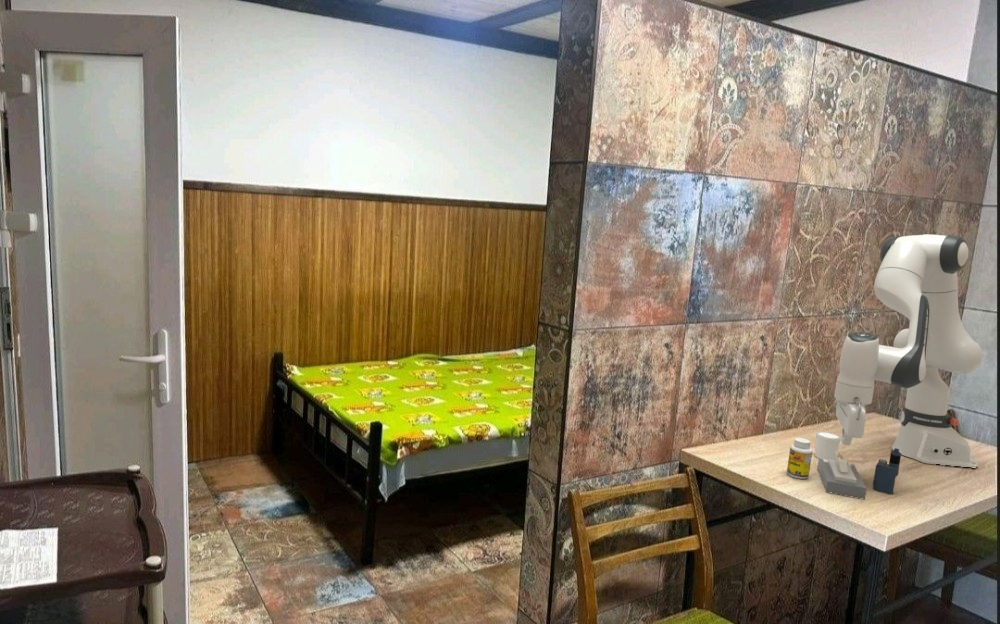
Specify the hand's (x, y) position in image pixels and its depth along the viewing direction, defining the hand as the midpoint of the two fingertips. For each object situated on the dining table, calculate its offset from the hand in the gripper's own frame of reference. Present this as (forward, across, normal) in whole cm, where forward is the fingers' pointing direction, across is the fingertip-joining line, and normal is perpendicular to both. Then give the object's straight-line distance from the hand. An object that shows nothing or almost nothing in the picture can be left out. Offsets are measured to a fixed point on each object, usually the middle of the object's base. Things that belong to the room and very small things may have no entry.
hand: (845, 443), depth 176 cm
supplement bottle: (+11, 0, +10) cm, 15 cm away
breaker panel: (+11, 0, 0) cm, 11 cm away
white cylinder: (+11, +21, +1) cm, 24 cm away
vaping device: (+11, 0, -10) cm, 15 cm away
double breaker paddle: (+7, 0, 0) cm, 7 cm away
